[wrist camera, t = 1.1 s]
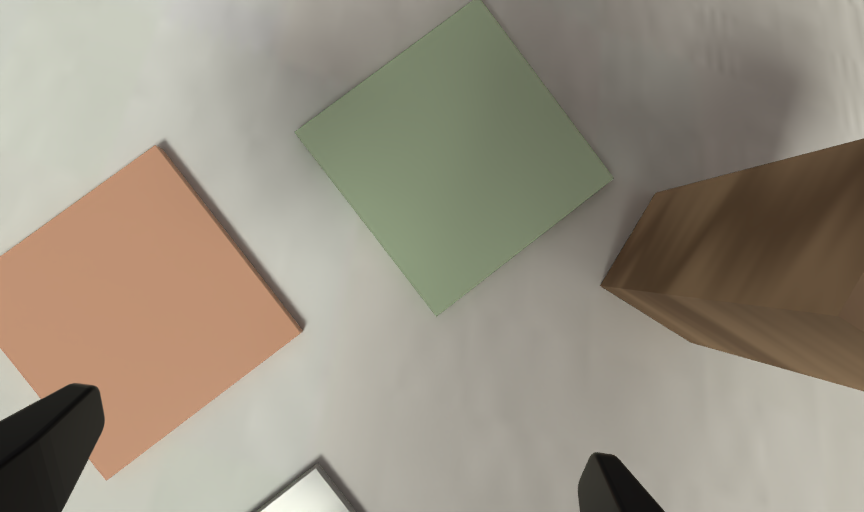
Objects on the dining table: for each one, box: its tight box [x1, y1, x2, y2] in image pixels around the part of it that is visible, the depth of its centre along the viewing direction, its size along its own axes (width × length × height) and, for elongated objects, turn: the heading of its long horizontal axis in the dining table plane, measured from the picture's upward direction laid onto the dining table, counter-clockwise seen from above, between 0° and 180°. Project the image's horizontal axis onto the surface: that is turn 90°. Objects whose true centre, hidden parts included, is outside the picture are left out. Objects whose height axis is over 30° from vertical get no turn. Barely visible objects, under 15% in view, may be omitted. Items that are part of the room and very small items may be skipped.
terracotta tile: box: [0, 145, 303, 481], centre depth 23 cm, size 10×10×1 cm
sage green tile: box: [295, 0, 614, 317], centre depth 24 cm, size 10×10×1 cm
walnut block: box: [600, 139, 864, 391], centre depth 18 cm, size 5×5×13 cm
